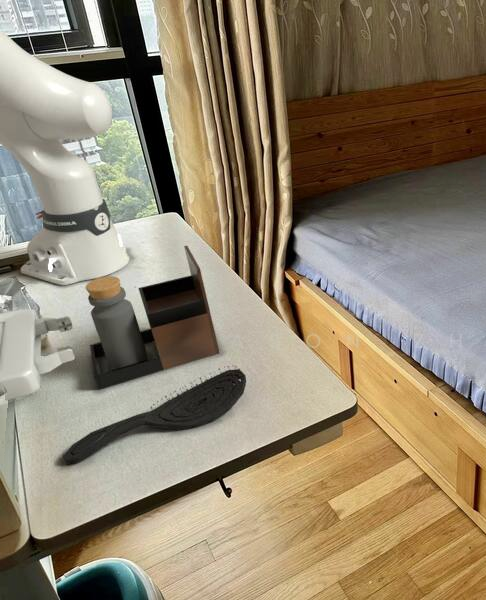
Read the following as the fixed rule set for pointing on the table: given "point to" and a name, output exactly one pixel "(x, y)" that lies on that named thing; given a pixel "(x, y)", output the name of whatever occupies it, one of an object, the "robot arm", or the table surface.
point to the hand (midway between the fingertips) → (72, 336)
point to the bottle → (115, 323)
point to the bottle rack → (168, 328)
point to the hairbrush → (185, 408)
